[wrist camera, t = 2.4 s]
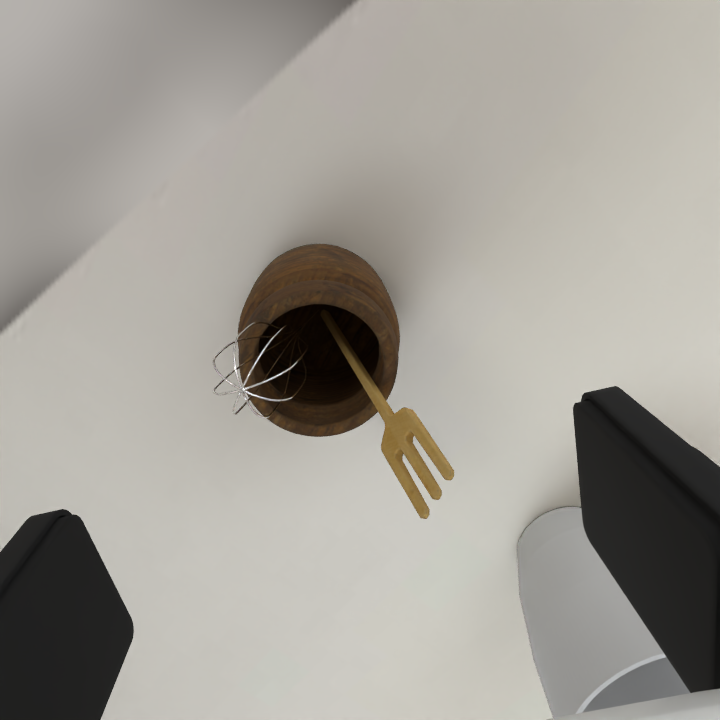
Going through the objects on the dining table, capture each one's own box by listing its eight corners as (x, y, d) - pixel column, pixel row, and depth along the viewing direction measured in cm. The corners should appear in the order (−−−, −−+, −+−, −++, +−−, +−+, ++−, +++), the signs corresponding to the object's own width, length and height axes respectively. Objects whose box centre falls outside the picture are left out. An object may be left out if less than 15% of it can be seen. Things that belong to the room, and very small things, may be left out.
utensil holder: (284, 214, 22) (245, 278, 11) (417, 281, 23) (505, 398, 12) (229, 338, 24) (146, 502, 13) (356, 393, 25) (384, 586, 14)
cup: (637, 587, 31) (775, 777, 21) (497, 617, 31) (573, 819, 21) (634, 466, 28) (793, 626, 18) (479, 500, 28) (558, 675, 18)
